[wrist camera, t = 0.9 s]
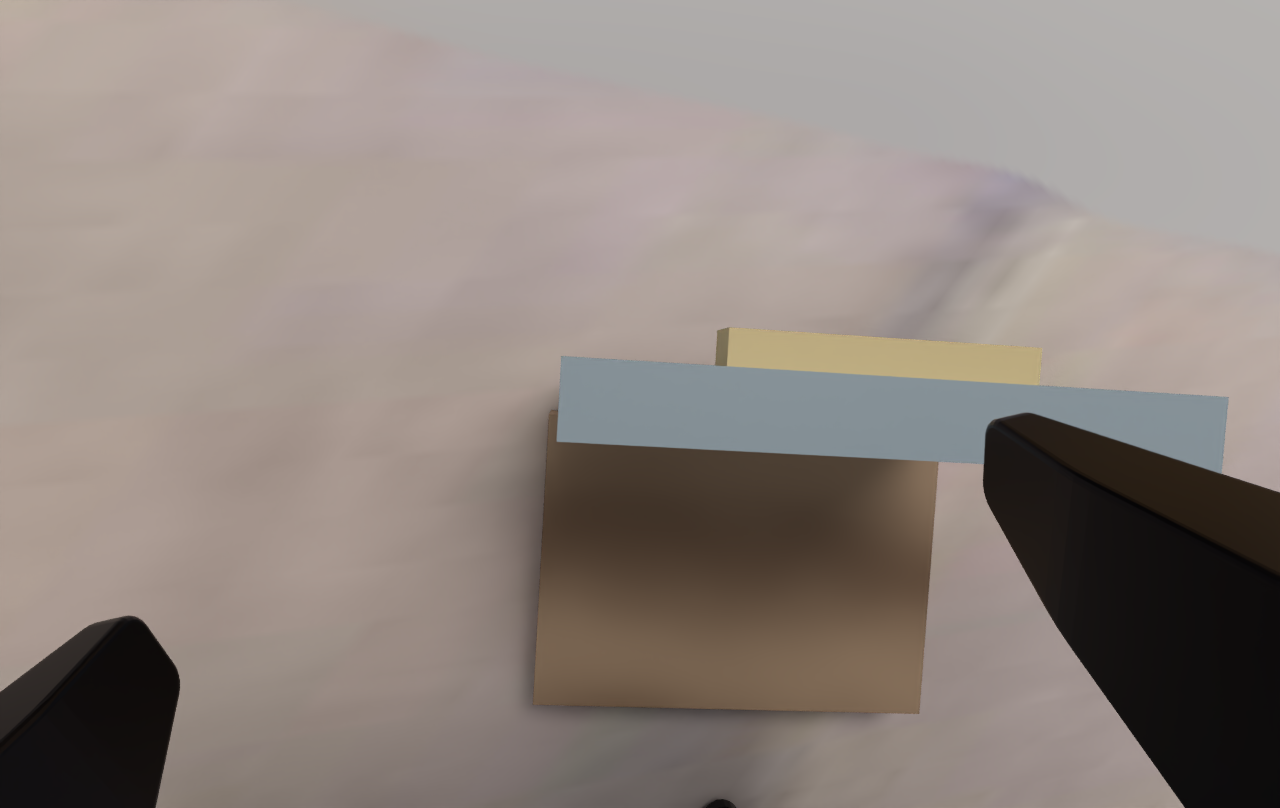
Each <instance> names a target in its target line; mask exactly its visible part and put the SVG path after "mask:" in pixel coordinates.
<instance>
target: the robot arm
mask: <svg viewBox="0 0 1280 808" xmlns="http://www.w3.org/2000/svg"><path fill="white" fill-rule="evenodd" d="M983 487H984V493H985V497H986V500H987V503H988V505H989V507H990V509H991V511H992V513H993V514H994V516H995V518H996V520H997V522H998V523H999V525H1000V527H1001V529H1002V531H1003V532H1004V534H1005V536H1006V538H1007V540H1008V541H1009V543H1010V545H1011V547H1012V549H1013V550H1014V552H1015V554H1016V556H1017V558H1018V559H1019V561H1020V563H1021V565H1022V567H1023V568H1024V570H1025V572H1026V574H1027V576H1028V577H1029V579H1030V581H1031V583H1032V585H1033V586H1034V588H1035V590H1036V592H1037V594H1038V595H1039V597H1040V599H1041V601H1042V602H1043V604H1044V606H1045V608H1046V609H1047V611H1048V613H1049V615H1050V616H1051V618H1052V620H1053V621H1054V623H1055V625H1056V626H1057V628H1058V629H1059V631H1060V632H1061V634H1062V635H1063V637H1064V638H1065V640H1066V641H1067V643H1068V644H1069V646H1070V647H1071V648H1072V650H1073V651H1074V653H1075V654H1076V655H1077V657H1078V658H1079V660H1080V661H1081V662H1082V664H1083V665H1084V667H1085V668H1086V669H1087V671H1088V672H1089V674H1090V675H1091V676H1092V678H1093V679H1094V681H1095V682H1096V684H1097V685H1098V686H1099V688H1100V689H1101V691H1102V692H1103V693H1104V695H1105V696H1106V698H1107V699H1108V700H1109V702H1110V703H1111V705H1112V706H1113V707H1114V709H1115V710H1116V712H1117V713H1118V714H1119V716H1120V717H1121V719H1122V720H1123V721H1124V723H1125V724H1126V726H1127V727H1128V728H1129V730H1130V731H1131V733H1132V734H1133V735H1134V737H1135V738H1136V740H1137V741H1138V742H1139V744H1140V745H1141V747H1142V748H1143V750H1144V751H1145V752H1146V754H1147V755H1148V757H1149V758H1150V759H1151V761H1152V762H1153V764H1154V765H1155V766H1156V768H1157V769H1158V771H1159V772H1160V773H1161V775H1162V776H1163V778H1164V779H1165V780H1166V782H1167V783H1168V785H1169V786H1170V787H1171V789H1172V790H1173V792H1174V793H1175V794H1176V796H1177V797H1178V799H1179V800H1180V801H1181V803H1182V804H1183V806H1184V807H1185V808H1280V492H1276V491H1273V490H1270V489H1267V488H1264V487H1261V486H1258V485H1255V484H1252V483H1248V482H1245V481H1242V480H1239V479H1236V478H1233V477H1230V476H1227V475H1224V474H1221V473H1217V472H1214V471H1211V470H1208V469H1205V468H1202V467H1199V466H1196V465H1193V464H1189V463H1186V462H1183V461H1180V460H1177V459H1174V458H1171V457H1168V456H1165V455H1161V454H1158V453H1155V452H1152V451H1149V450H1146V449H1143V448H1140V447H1137V446H1134V445H1130V444H1127V443H1124V442H1121V441H1118V440H1115V439H1112V438H1109V437H1106V436H1102V435H1099V434H1096V433H1093V432H1090V431H1087V430H1084V429H1081V428H1078V427H1074V426H1071V425H1068V424H1065V423H1062V422H1059V421H1056V420H1053V419H1050V418H1047V417H1043V416H1040V415H1037V414H1034V413H1029V412H1025V413H1020V414H1015V415H1011V416H1006V417H1002V418H998V419H994V420H992V421H991V422H990V423H989V424H988V426H987V428H986V432H985V448H984V472H983ZM179 691H180V679H179V674H178V671H177V668H176V666H175V665H174V663H173V662H172V660H171V659H170V658H169V656H168V655H167V653H166V652H165V650H164V649H163V648H162V646H161V645H160V643H159V642H158V641H157V639H156V638H155V636H154V635H153V633H152V632H151V631H150V629H149V628H148V626H147V625H146V624H145V623H144V622H143V621H142V620H141V619H139V618H138V617H135V616H123V617H119V618H114V619H110V620H105V621H101V622H97V623H94V624H92V625H89V626H88V627H86V628H84V629H83V630H82V631H80V632H79V633H78V634H77V635H75V636H74V637H73V638H71V639H70V640H69V641H67V642H66V643H65V644H63V645H62V646H61V647H59V648H58V649H57V650H55V651H54V652H53V653H51V654H50V655H49V656H47V657H46V658H45V659H43V660H42V661H41V662H39V663H38V664H37V665H35V666H34V667H33V668H31V669H30V670H29V671H27V672H26V673H25V674H23V675H22V676H21V677H19V678H18V679H17V680H16V681H14V682H13V683H12V684H10V685H9V686H8V687H6V688H5V689H4V690H2V691H1V692H0V808H156V803H157V798H158V793H159V789H160V784H161V779H162V774H163V769H164V765H165V760H166V755H167V750H168V745H169V740H170V736H171V731H172V726H173V721H174V716H175V712H176V707H177V702H178V697H179ZM706 808H736V807H735V805H734V804H732V803H731V802H730V801H728V800H724V799H721V800H716V801H714V802H712V803H711V804H710V805H708V806H707V807H706Z"/></svg>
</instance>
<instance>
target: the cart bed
mask: <svg viewBox="0 0 1280 808" xmlns="http://www.w3.org/2000/svg"><path fill="white" fill-rule="evenodd" d="M557 425H558V411H555V410H551V412H550V413H549V423H548V441H547V459H546V477H545V495H544V513H543V531H542V549H541V567H540V585H539V603H538V621H537V639H536V657H535V675H534V693H533V705H567V706H609V707H651V708H694V709H736V710H778V711H820V712H863V713H905V714H919V708H920V695H921V683H922V670H923V657H924V644H925V631H926V618H927V605H928V592H929V579H930V566H931V553H932V540H933V527H934V514H935V501H936V488H937V475H938V462H936V461H916V460H897V459H878V458H859V457H840V456H821V455H802V454H782V453H763V452H744V451H725V450H706V449H687V448H667V447H648V446H629V445H610V444H591V443H572V442H557Z"/></svg>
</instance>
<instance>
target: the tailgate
mask: <svg viewBox="0 0 1280 808" xmlns="http://www.w3.org/2000/svg"><path fill="white" fill-rule="evenodd" d="M1041 357H1042V348H1034V347H1019V346H1003V345H988V344H973V343H958V342H943V341H927V340H912V339H897V338H882V337H867V336H851V335H836V334H821V333H806V332H791V331H775V330H760V329H745V328H730V327H729V328H725V329H721V330H718V331H717V347H716V362H715V366H714V365H698V364H682V363H665V362H649V361H633V360H617V359H600V358H584V357H568V356H561V372H560V389H559V407H558V425H557V442H572V443H591V444H610V445H629V446H648V447H667V448H687V449H706V450H725V451H744V452H763V453H782V454H802V455H821V456H840V457H859V458H878V459H897V460H916V461H936V462H955V463H974V464H984V448H985V432H986V428H987V426H988V424H989V423H990V422H991V421H992V420H994V419H998V418H1002V417H1006V416H1011V415H1015V414H1020V413H1025V412H1029V413H1034V414H1037V415H1040V416H1043V417H1047V418H1050V419H1053V420H1056V421H1059V422H1062V423H1065V424H1068V425H1071V426H1074V427H1078V428H1081V429H1084V430H1087V431H1090V432H1093V433H1096V434H1099V435H1102V436H1106V437H1109V438H1112V439H1115V440H1118V441H1121V442H1124V443H1127V444H1130V445H1134V446H1137V447H1140V448H1143V449H1146V450H1149V451H1152V452H1155V453H1158V454H1161V455H1165V456H1168V457H1171V458H1174V459H1177V460H1180V461H1183V462H1186V463H1189V464H1193V465H1196V466H1199V467H1202V468H1205V469H1208V470H1211V471H1214V472H1217V473H1221V474H1222V463H1223V452H1224V441H1225V430H1226V420H1227V409H1228V398H1229V397H1218V396H1202V395H1186V394H1169V393H1153V392H1137V391H1121V390H1104V389H1088V388H1072V387H1056V386H1039V381H1040V369H1041Z"/></svg>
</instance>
